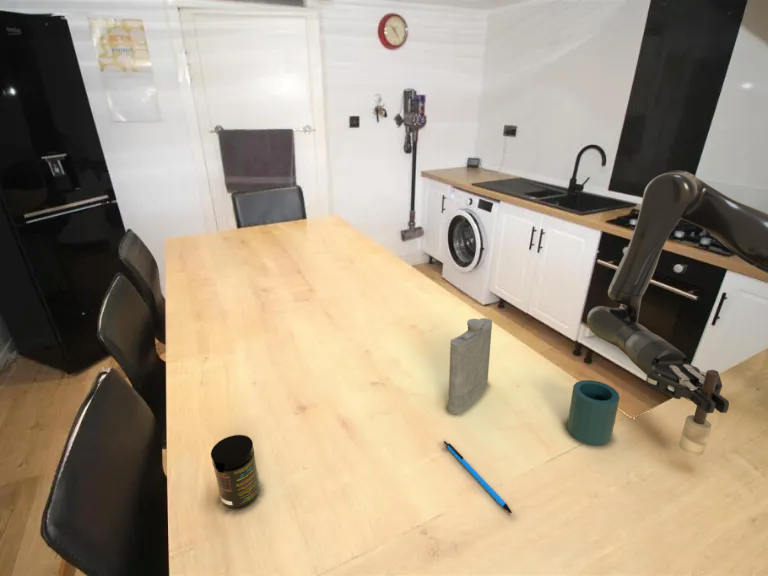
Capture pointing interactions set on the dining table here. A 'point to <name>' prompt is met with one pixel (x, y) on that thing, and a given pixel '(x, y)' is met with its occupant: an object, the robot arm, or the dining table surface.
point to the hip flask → (469, 365)
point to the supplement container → (236, 471)
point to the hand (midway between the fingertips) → (719, 408)
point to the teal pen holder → (592, 412)
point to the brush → (698, 422)
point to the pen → (478, 477)
